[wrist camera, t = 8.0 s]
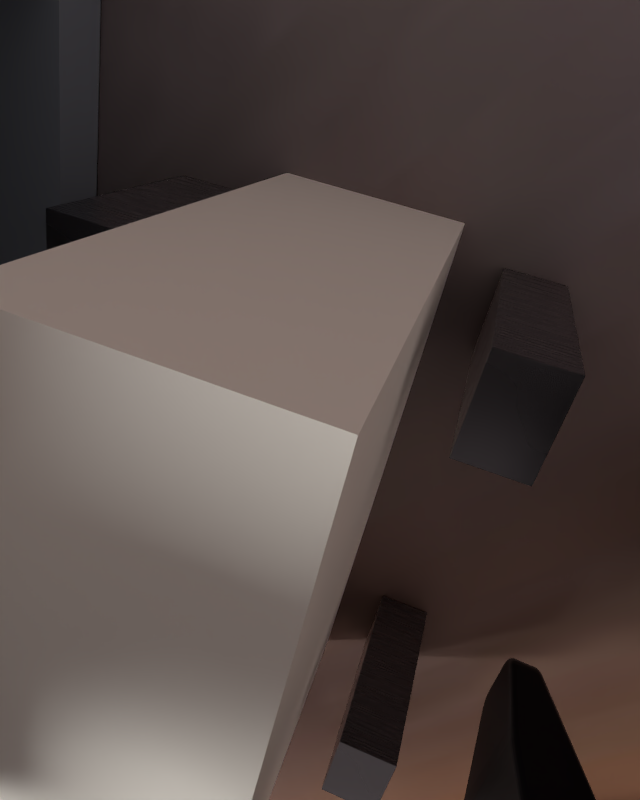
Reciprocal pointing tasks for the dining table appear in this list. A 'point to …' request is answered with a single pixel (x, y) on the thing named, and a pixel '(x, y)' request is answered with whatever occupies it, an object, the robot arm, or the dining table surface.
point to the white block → (194, 478)
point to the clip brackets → (473, 444)
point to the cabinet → (46, 115)
